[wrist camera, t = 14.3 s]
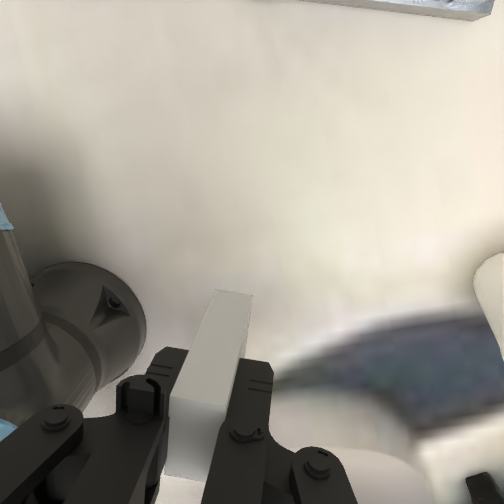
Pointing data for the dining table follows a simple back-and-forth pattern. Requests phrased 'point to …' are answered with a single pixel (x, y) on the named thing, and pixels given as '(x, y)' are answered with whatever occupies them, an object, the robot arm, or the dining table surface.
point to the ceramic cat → (484, 490)
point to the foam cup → (492, 294)
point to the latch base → (424, 7)
